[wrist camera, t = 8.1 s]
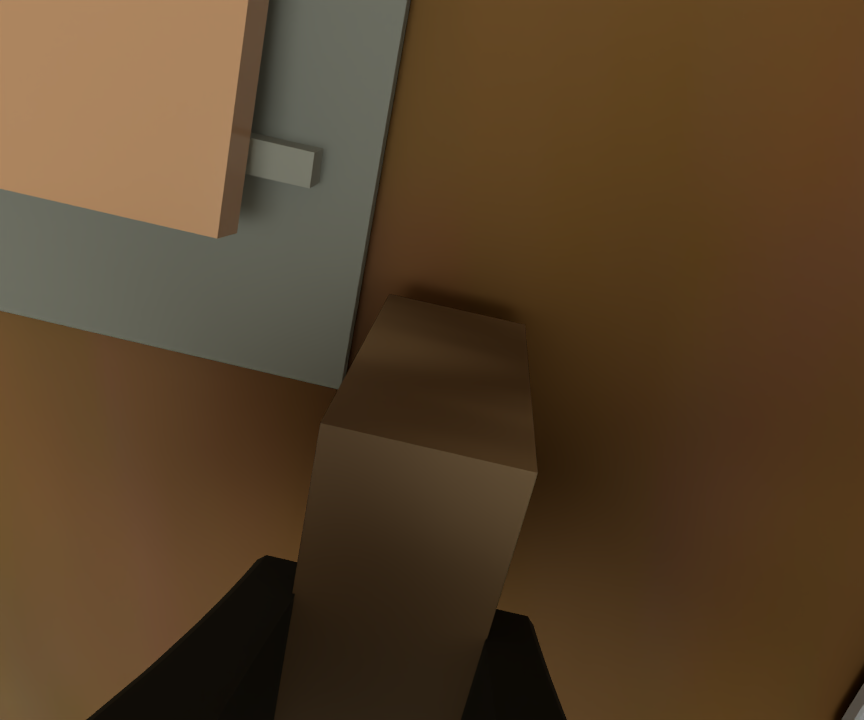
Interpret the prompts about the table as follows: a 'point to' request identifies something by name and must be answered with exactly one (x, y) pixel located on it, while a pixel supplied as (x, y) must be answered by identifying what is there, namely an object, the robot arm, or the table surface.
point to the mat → (241, 216)
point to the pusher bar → (410, 518)
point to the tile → (131, 106)
